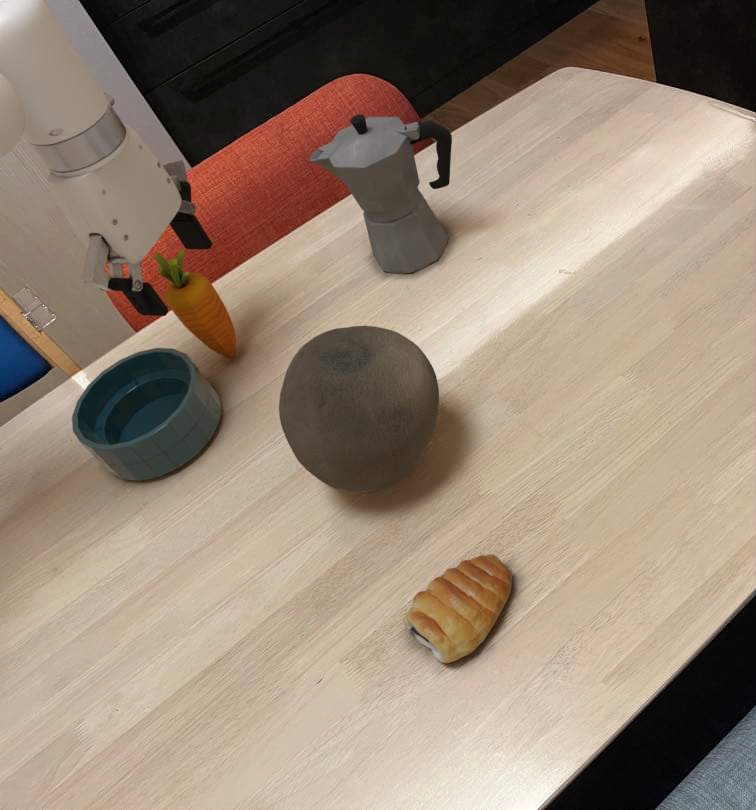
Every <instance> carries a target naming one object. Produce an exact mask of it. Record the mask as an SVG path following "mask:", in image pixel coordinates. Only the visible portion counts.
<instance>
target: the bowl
mask: <svg viewBox="0 0 756 810" xmlns="http://www.w3.org/2000/svg"><path fill="white" fill-rule="evenodd" d="M220 400H221V399H220V396H219V394H218V392H217V391H216V390H215V389H214V388H213V386H212V385H211V383H210V382H209V381H208V380H207V378H206V377H205V375H204V374H203V373H202V372H201V370H200V369H199V367H198V366H197V365H196V364H195V362H194V361H193V360H192V358H191V357H190V356H189V355H188V354H187V353H185V352H183V351H180V350H177V349H176V348H171V347H170V348H168V347H167V348H166V347H155V348H150V349H146V350H145V349H144V350H142V351H137V352H134V353H133V354H130V355H128V356H126V357H123V358H121V359H120V360H117V361H116V362H115V363H113V364H111V365H110V366H108V367H107V368H105V369H104V370H102V371H101V372H100V373H99V374H98V375H97V376H96V377H95V378H94V379H93V380H92V381H91V382H90V383H89V384H88V385H87V386H86V387H85V389H84V391H83V392H82V393H81V395H80V396H79V398H78V399H77V401H76V403H75V407H74V409H73V413H72V416H71V423H72V427H71V428H72V432H73V434H74V435H75V437H76V439H77V440H78V442H79V443H81V445H82V446H83V447H84V448H85V449H86V451H88V452H89V453H90V454H91V455H92V456H93V457H94V458H95V459H96V460H97V461H98V462H99V463H100V465H102V466H103V467H104V468H105V469H106V470H107V471H108V472H109V473H110V474H112V475H114V476H116V477H118V478H119V479H122V480H127V481H128V480H129V481H137V482H138V481H139V482H141V481H145V480H151V479H156V478H160V477H161V476H164V475H166V474H169V473H171V472H173V471H176V470H178V469H179V468H181V467H182V466H184V465H185V464H186V463H187V462H189V461H190V460H192V459H193V458H194V457H196V456H197V455H198V454H199V453H200V452H201V450H202V449H204V447H205V446H207V444H208V443H209V442H210V441H211V439H212V437H213V435H214V433H215V432H216V430H217V428H218V426H219V423H220V419H221V412H222V404H221V401H220Z"/></svg>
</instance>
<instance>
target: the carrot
mask: <svg viewBox="0 0 756 810" xmlns="http://www.w3.org/2000/svg"><path fill="white" fill-rule="evenodd" d="M185 253H186V249H180V250H179V251H178V254H177V257H176V258H175V257H173V258H170V259H168V261H167V259H166V258H165V257H164V256H163V255H162V254H161V253H160V252H156V253H155V254H154V256H153V259H154V260H155V262H157V263H158V265H159V266H158V267H157V269H156V271H157V272H158V274H159V275H161V276H162V277H163V278H165V279H166V280H168V281H169V282H168V284H167V287H166V289H165V293H164V295H163V299H164V301H165V302H164V303H165V304H166V306H167V307H169V309H170V310H171V311H172V312H173V313H174V315H175V317H177V318H178V320H179V321H180V322H181V323H182V325H183V326H184V327H185V328H186V329H187V330H188V331H189V332H190V333H191V334H192V335H193V336H194V337H196V338H197V339H198V340H199V341H200V342H202V344H204V345H205V346H206V347H207V348H209V349H210V350H211V351H213V352H215V353H216V354H218V355H221V356H223V357H226V358H228V359H229V358H234V357H235V356H236V353H237V336H236V330H235V327H234V325H233V322H232V319H231V316H230V314H229V311H228V309H227V307H226V306H225V304H224V302H223V300H222V298H221V297H220V295H219V294H218V292H217V290H216V289H215V287H214V285H213V284H212V282H211V281H210V280H208V279H207V278H206V277H205V276H204V275H202V274H200V272H197V271H193V272H192V271H191V272H189V271H188V270H187V271H184V269H183V260H184V256H185Z"/></svg>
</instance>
